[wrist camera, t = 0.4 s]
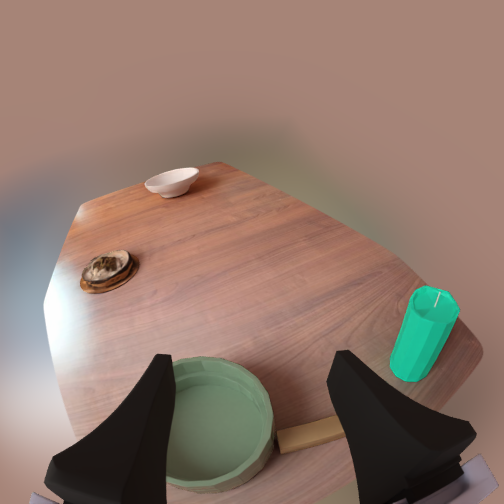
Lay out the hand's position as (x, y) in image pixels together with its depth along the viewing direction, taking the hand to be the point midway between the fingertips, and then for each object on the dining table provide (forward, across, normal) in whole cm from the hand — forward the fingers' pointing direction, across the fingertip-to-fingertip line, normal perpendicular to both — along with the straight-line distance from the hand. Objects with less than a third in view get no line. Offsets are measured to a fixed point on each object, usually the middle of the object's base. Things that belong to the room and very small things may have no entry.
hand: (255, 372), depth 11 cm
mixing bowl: (+8, +3, +19) cm, 21 cm away
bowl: (+90, +18, +9) cm, 92 cm away
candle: (+11, -22, +14) cm, 28 cm away
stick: (+6, -9, +17) cm, 20 cm away
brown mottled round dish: (+45, +26, +18) cm, 55 cm away
